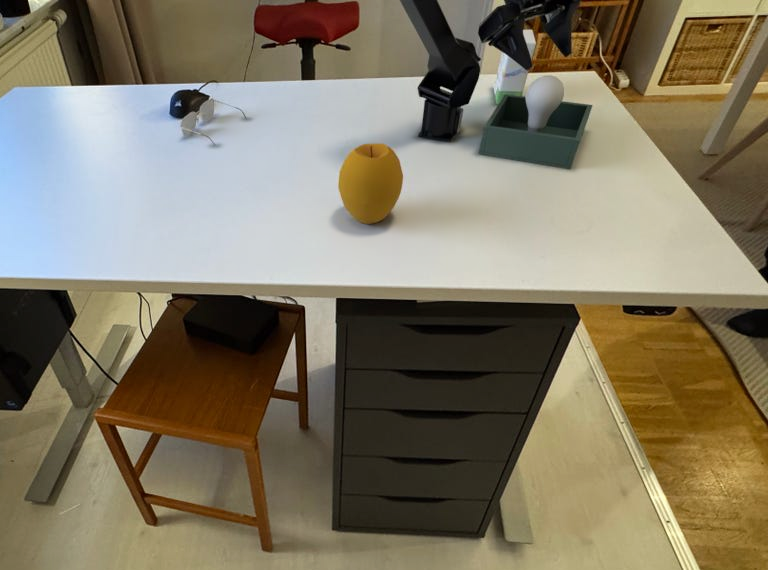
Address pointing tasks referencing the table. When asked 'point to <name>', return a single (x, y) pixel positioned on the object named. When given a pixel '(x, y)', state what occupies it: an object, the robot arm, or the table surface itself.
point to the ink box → (512, 72)
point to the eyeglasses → (190, 120)
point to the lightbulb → (543, 101)
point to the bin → (534, 133)
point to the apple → (370, 182)
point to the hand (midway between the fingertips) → (549, 62)
